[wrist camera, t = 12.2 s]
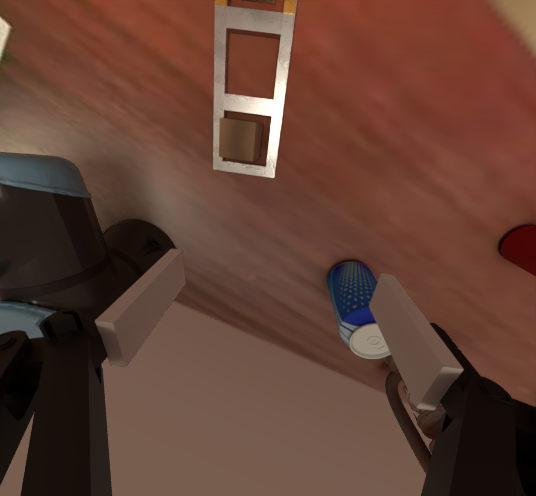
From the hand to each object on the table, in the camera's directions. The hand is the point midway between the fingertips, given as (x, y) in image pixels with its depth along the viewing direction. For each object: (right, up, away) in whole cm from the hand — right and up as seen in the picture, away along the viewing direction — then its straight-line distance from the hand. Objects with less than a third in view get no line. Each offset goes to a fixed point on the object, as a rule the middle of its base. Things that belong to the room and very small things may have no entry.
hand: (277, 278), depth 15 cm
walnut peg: (-4, +19, +20) cm, 28 cm away
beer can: (+15, -4, +30) cm, 34 cm away
